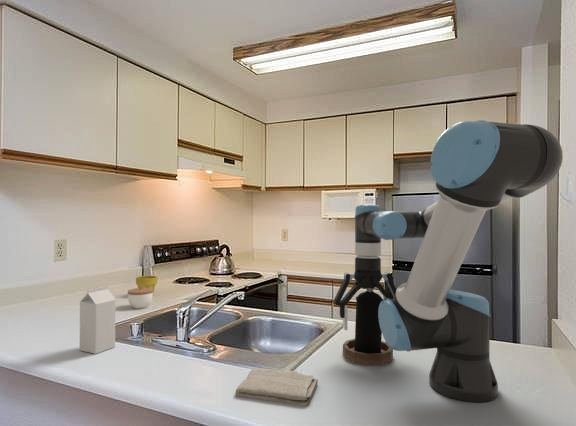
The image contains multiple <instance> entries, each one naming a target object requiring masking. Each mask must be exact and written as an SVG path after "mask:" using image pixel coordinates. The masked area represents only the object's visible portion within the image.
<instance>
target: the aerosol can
mask: <svg viewBox="0 0 576 426" xmlns="http://www.w3.org/2000/svg"><path fill="white" fill-rule="evenodd" d="M382 297H383V296H381V295H380V294H379V293H377V292H375V291H374V289H371V288H367V289H366V290H365V291H362V292H360V293H358V295H357V296H356V297H355V300H356V302H355V326H354V327H355V330H354V331H355V332H354V333H355V335H354V339H355V348H354V351H357V352H362V353H382V352H381V341H382V339H383V338H382V336H383V335H382V332H381V329H380V324H379V318H378V310H379V305H380V303H381V302H382V301H383V300H384V298H382Z"/></svg>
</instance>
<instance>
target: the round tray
mask: <svg viewBox="0 0 576 426" xmlns="http://www.w3.org/2000/svg"><path fill="white" fill-rule="evenodd" d="M354 348H355V338H352V339H348V340H346V341H345V342H344V343H342V355H343V357H344V358H345V360H347V361H349V362H352V363H353V364H358V365H363V366H367V367H368V366H370V367H371V366H383V365H387V364H389V363H390V364H391V362H392V360H393V358H394V350H393V349H392V348H391V347H390V346H389V345H388V344H387V343H386V341H382V340H381V352H382V353H362V352H357V351H354Z"/></svg>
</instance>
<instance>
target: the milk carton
mask: <svg viewBox="0 0 576 426" xmlns="http://www.w3.org/2000/svg"><path fill="white" fill-rule="evenodd" d="M115 347H116V297H114V295H113V294H112V293H111V290H109V285H106V286H105V285H104V286H101V287H96V288H91V289H87V293H86V294H85V295H84V296H83V298H82V299H81V300H80V301H79V351H81V352H86V353H90V354H94V355H97V354H100V353H102V352H105V351H108V350H110V349H113V348H115Z"/></svg>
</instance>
